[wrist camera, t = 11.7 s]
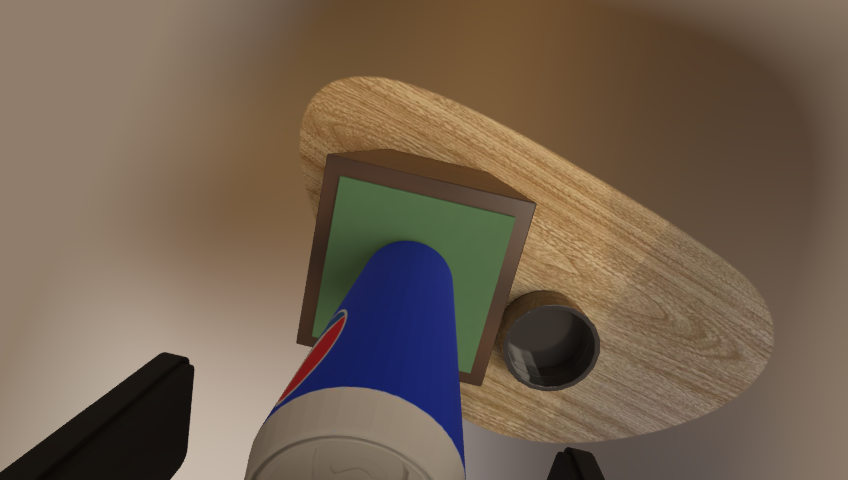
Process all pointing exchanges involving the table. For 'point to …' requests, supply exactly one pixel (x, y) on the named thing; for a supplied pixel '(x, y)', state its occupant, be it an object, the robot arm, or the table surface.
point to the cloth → (425, 223)
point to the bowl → (548, 341)
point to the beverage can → (375, 383)
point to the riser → (435, 183)
